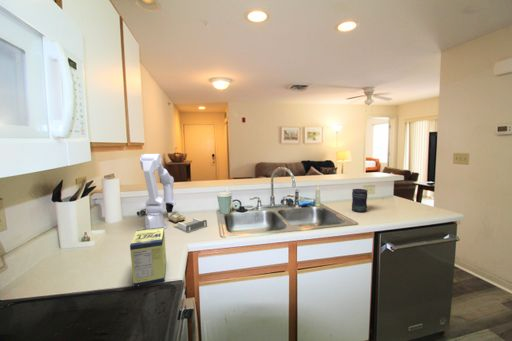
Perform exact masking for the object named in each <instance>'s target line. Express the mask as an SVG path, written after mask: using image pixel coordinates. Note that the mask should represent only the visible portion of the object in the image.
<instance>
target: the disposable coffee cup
mask: <svg viewBox="0 0 512 341" xmlns="http://www.w3.org/2000/svg"><path fill="white" fill-rule="evenodd" d="M216 197H217V202H218V208H219V214H221V215H228V214H230V212H231V205H232V197H233V194H232V192H231V191H229V190H228V191H220V192H217V194H216Z"/></svg>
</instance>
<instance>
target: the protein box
mask: <svg viewBox="0 0 512 341" xmlns="http://www.w3.org/2000/svg"><path fill="white" fill-rule="evenodd" d="M165 238H166V237H165V228H164V227H160V228H152V229H145V228H144V229H138V230H136V232H135V234H134V237H133V238H132V240H131V242H130V245H129V249H130V250H129V251H130V258H131V260H130V261H131V271H132V272H131V273H132V274H131V275H132V281H133V283H132V284H133V287H134V286H137V287H139V286H138V285H142V286H146V285H145V284H147V285H152V284H151V283H153V284H157V283H163V282H165V280H166V271H167V250H166V239H165Z"/></svg>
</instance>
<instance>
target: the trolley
mask: <svg viewBox="0 0 512 341" xmlns="http://www.w3.org/2000/svg"><path fill="white" fill-rule="evenodd" d="M167 219H168V221H169V222H171V221H172V222H174V224H178V222H180V221H182V222H184V221H185V219H186V217H185V216H184V214H183V213H179V210H175V211H172V212H171V213H167Z"/></svg>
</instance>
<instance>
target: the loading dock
mask: <svg viewBox="0 0 512 341" xmlns="http://www.w3.org/2000/svg"><path fill="white" fill-rule="evenodd" d="M207 224H208V221H207V219H203V220H201V219H198V218H196V217H193V218H192V220H188V221H185V222H184V221H183V222H180V221H177V224H175V225H172V227H173V228H176V229H178V230H180V231H182V232H184V233H186V234H190V233H192V232H196V231H199V230H201V229H203V228H204V229H205V228H207V227H208V225H207Z"/></svg>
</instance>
